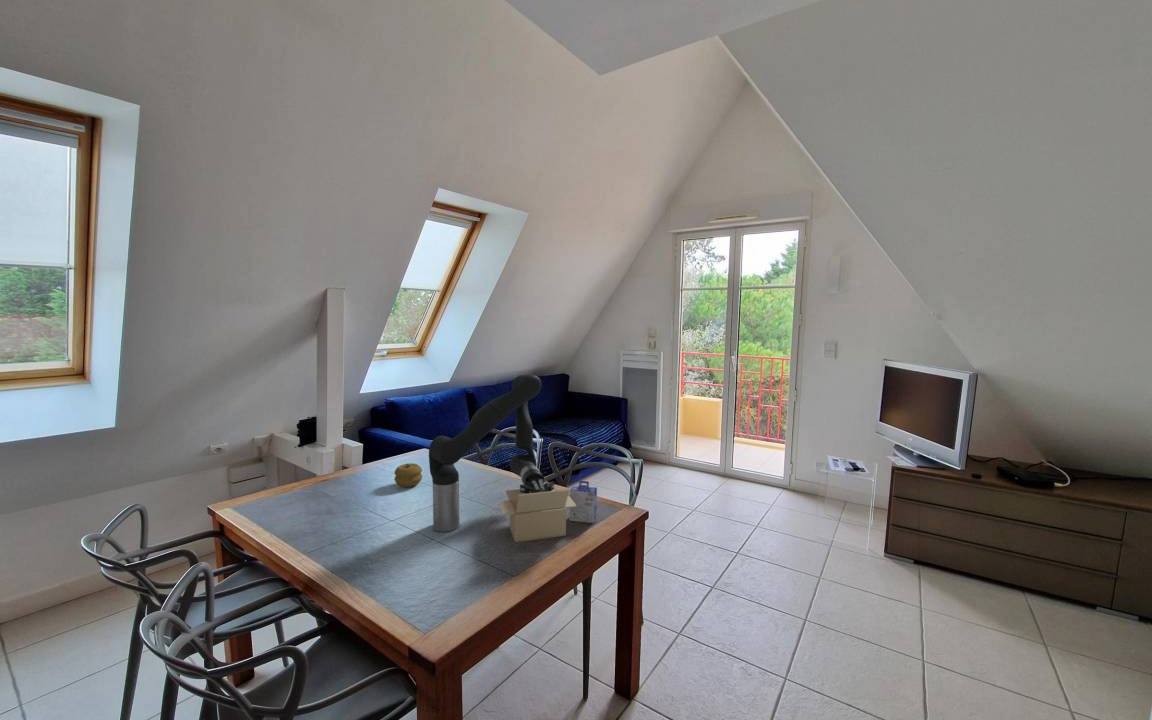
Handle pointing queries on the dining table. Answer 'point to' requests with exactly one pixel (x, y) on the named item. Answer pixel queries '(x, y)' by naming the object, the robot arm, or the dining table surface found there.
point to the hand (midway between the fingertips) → (543, 496)
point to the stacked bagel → (408, 475)
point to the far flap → (542, 500)
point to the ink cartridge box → (583, 503)
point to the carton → (535, 519)
